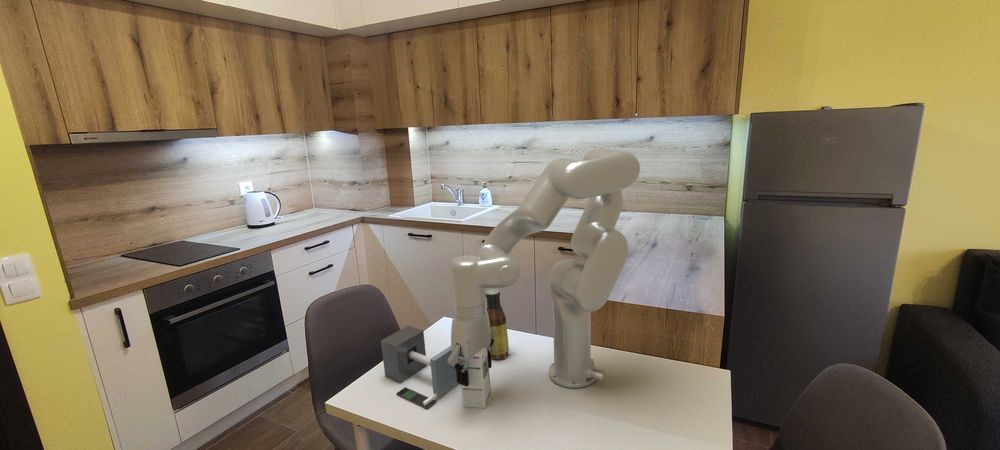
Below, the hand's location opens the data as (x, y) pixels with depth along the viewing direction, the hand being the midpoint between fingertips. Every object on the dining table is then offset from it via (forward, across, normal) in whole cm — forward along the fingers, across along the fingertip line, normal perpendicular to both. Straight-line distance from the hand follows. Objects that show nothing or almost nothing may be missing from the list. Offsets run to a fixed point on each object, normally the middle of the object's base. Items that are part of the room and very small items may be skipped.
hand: (474, 374), depth 107 cm
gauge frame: (+7, +2, -18) cm, 19 cm away
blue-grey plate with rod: (+6, +2, -16) cm, 17 cm away
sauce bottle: (+7, -20, -8) cm, 23 cm away
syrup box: (+7, 0, 0) cm, 7 cm away
